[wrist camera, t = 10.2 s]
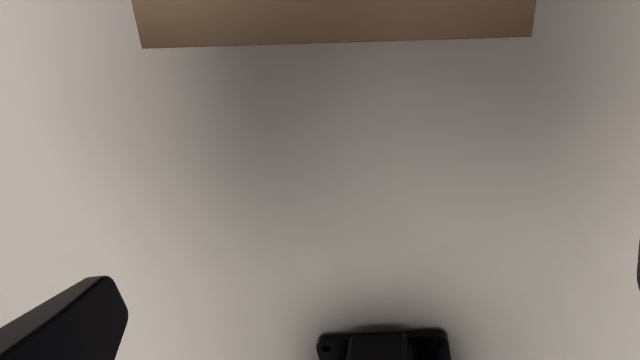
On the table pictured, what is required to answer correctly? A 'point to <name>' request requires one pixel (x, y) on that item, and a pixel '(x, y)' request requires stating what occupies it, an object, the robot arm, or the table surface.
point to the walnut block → (325, 21)
